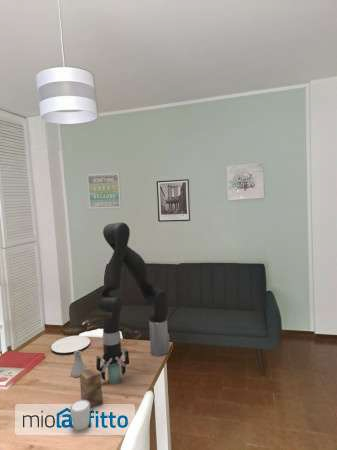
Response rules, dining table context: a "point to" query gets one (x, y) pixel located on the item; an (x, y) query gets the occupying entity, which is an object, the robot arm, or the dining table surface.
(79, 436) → the dining table surface
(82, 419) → the grey cup
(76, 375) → the flask
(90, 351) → the dining table surface
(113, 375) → the cylinder
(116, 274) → the robot arm
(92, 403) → the tower base
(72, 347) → the plate
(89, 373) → the tower top
